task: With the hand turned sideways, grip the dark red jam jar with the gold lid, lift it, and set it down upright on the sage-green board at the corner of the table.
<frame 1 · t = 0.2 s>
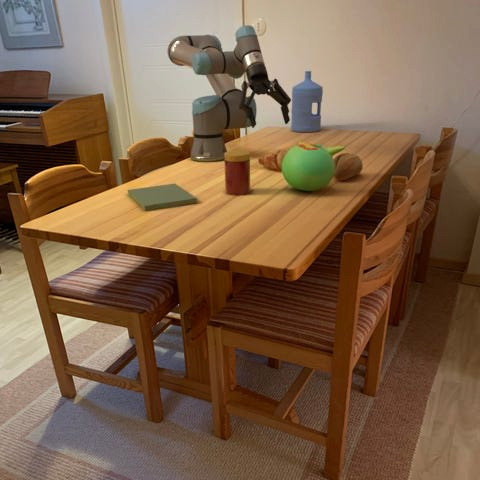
hand: (271, 124, 176), 16 cm above the table, tool tilted 35°, fingers open, 13 cm apart
toy bird: (308, 190, 156), on the table
water jug: (305, 130, 258), on the table
croissant: (283, 170, 181), on the table
bread roll: (345, 178, 168), on the table
jam jar: (237, 191, 156), on the table
corner board: (161, 198, 151), on the table
jam lid: (236, 154, 150), point 11 cm above the table, screwed on, not yet turned
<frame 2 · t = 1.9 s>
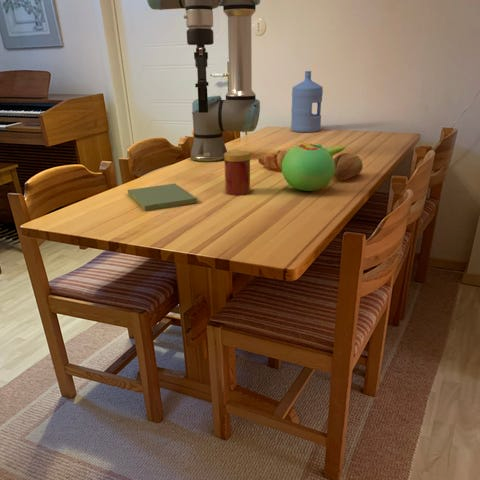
hand: (203, 110, 146), 24 cm above the table, tool pointing down, fingers open, 13 cm apart
nothing on the table moved.
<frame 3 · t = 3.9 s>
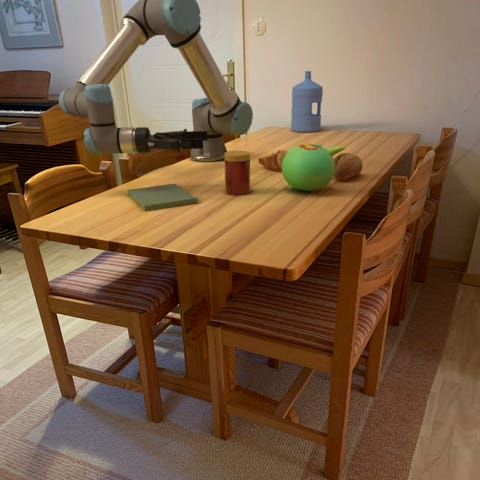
hand: (205, 139, 148), 16 cm above the table, tool horizontal, fingers open, 13 cm apart
nothing on the table moved.
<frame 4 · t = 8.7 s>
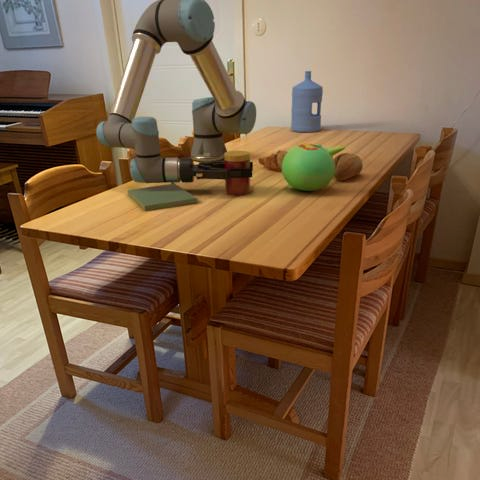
hand: (252, 169, 152), 7 cm above the table, tool horizontal, fingers closed on jam jar, 8 cm apart
jam jar: (237, 191, 156), on the table, touching gripper
everything else where it was.
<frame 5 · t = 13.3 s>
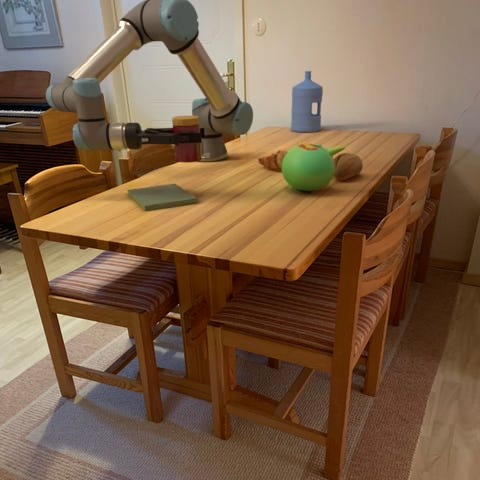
hand: (202, 135, 143), 18 cm above the table, tool horizontal, fingers closed on jam jar, 8 cm apart
jam jar: (188, 159, 147), point 11 cm above the table, touching gripper
jam lid: (185, 119, 141), point 23 cm above the table, screwed on, not yet turned
everything else where it was.
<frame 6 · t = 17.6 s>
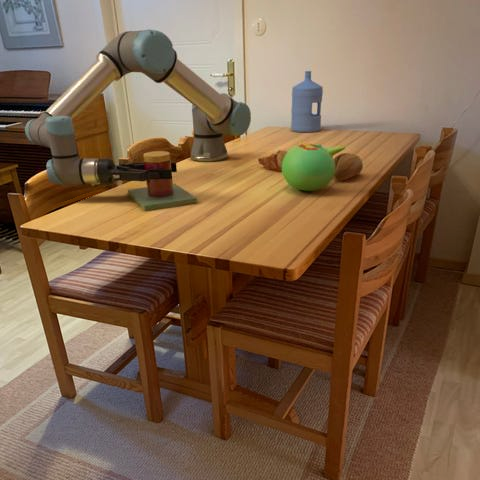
hand: (173, 170, 146), 8 cm above the table, tool horizontal, fingers closed on jam jar, 8 cm apart
jam jar: (160, 193, 150), point 2 cm above the table, touching corner board, gripper
jam lid: (156, 155, 144), point 13 cm above the table, screwed on, not yet turned
everything else where it was.
when the fingers open (8 cm above the table, at t = 17.8 s): jam jar stays where it is, resting on corner board.
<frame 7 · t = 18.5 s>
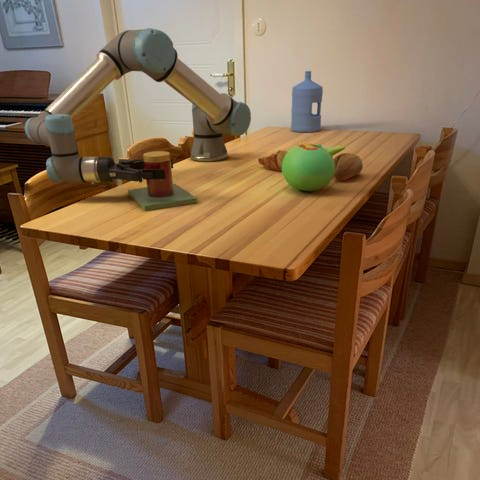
hand: (169, 168, 146), 9 cm above the table, tool horizontal, fingers open, 13 cm apart
jam jar: (160, 193, 150), point 1 cm above the table, touching corner board
everything else where it was.
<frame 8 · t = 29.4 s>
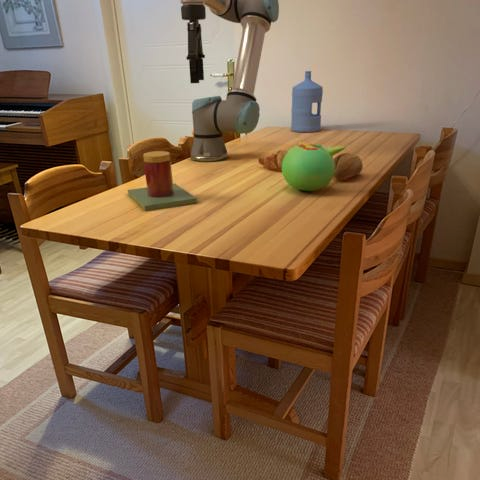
hand: (197, 81, 159), 31 cm above the table, tool pointing down, fingers open, 13 cm apart
nothing on the table moved.
at the end: jam jar inside the target area on the corner board (0.1 cm from its centre), point 1.5 cm above the corner board's base; jam jar tilted 0°; the gripper is holding nothing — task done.
